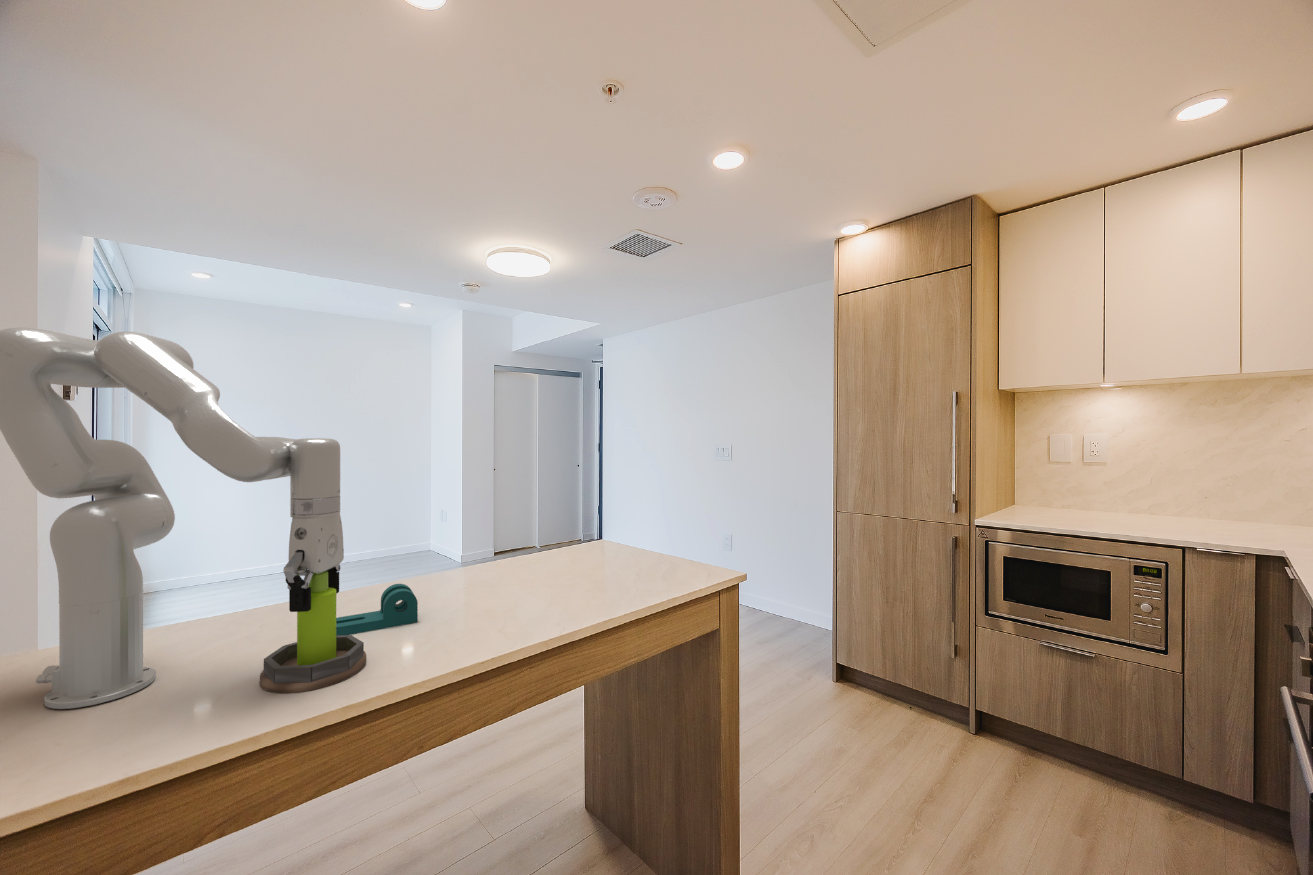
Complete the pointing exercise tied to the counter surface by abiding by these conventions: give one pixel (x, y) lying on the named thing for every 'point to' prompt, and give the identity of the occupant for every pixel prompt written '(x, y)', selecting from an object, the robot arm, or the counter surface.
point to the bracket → (383, 613)
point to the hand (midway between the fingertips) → (315, 601)
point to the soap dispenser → (317, 624)
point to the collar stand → (312, 667)
